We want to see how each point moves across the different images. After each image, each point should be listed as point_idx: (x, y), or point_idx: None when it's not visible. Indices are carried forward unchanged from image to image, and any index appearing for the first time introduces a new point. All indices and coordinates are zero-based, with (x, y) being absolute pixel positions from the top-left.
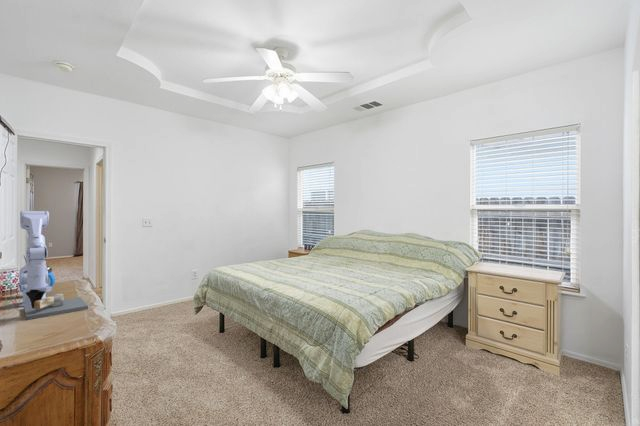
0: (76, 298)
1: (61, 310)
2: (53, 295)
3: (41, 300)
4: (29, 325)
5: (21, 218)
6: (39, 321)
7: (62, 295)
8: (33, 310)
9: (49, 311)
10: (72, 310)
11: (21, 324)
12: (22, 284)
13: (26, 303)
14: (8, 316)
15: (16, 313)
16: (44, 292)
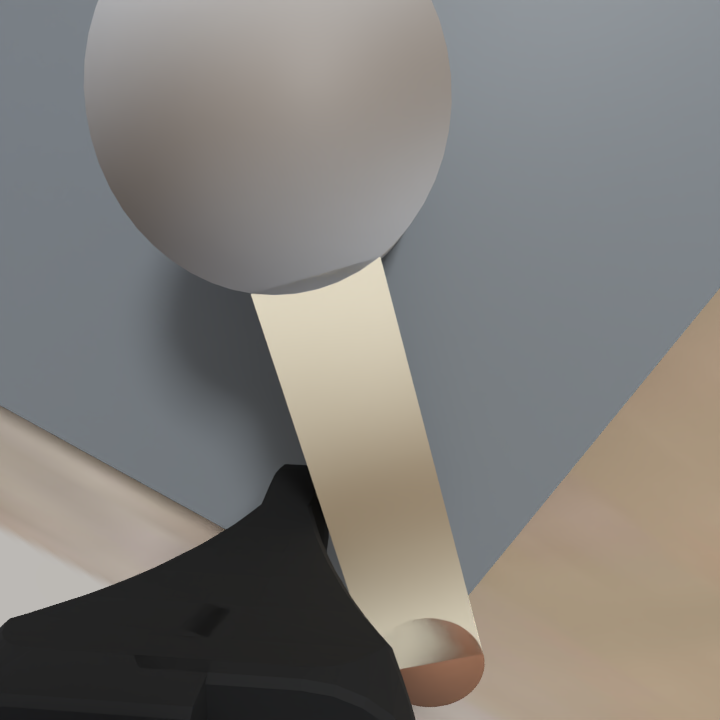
0: None
1: (659, 359)
2: (227, 164)
3: (437, 600)
4: (628, 699)
5: None
6: (615, 604)
7: (440, 32)
8: (254, 459)
9: (529, 443)
10: None
11: (516, 693)
12: None
13: None
14: (95, 555)
15: (46, 464)
16: (384, 671)
